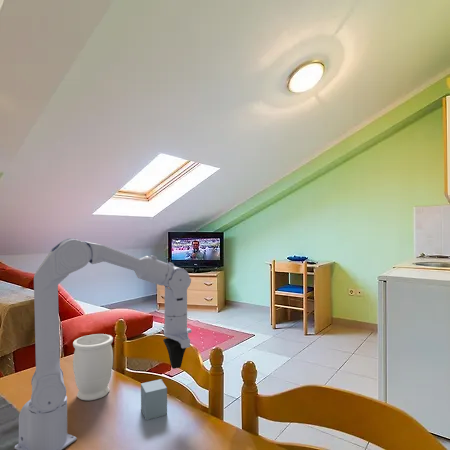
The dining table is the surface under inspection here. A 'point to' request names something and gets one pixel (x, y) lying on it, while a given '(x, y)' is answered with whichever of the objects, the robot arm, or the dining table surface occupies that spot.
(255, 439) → the dining table surface
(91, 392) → the jar
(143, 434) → the dining table surface
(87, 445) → the dining table surface
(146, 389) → the tall grey box
